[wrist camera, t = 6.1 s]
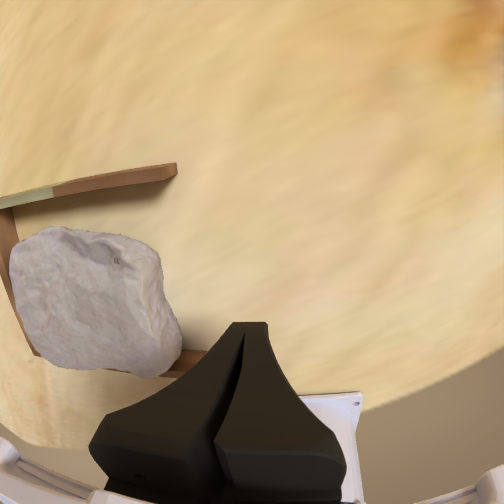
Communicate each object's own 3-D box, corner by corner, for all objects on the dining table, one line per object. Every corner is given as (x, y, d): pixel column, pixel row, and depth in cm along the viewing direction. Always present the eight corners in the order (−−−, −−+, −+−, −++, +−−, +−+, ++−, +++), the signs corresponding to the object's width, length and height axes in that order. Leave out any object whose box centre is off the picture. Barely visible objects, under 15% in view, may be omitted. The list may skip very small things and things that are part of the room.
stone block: (37, 228, 20) (62, 345, 22) (-4, 236, 16) (29, 371, 17) (171, 208, 19) (191, 353, 21) (140, 212, 15) (171, 390, 16)
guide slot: (208, 357, 20) (201, 379, 18) (47, 340, 22) (34, 355, 20) (176, 162, 16) (161, 167, 14) (1, 197, 17) (-19, 205, 15)
